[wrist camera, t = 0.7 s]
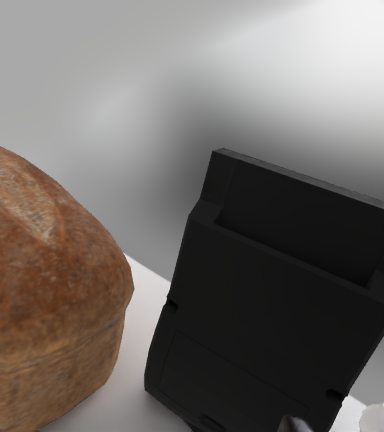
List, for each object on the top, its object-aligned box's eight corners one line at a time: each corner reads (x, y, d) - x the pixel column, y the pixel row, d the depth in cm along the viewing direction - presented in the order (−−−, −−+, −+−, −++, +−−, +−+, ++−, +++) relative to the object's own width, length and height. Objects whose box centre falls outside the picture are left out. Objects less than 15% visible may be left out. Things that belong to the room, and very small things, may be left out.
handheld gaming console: (294, 451, 24) (436, 217, 16) (283, 515, 20) (462, 248, 12) (162, 366, 28) (224, 146, 20) (131, 406, 24) (192, 152, 16)
